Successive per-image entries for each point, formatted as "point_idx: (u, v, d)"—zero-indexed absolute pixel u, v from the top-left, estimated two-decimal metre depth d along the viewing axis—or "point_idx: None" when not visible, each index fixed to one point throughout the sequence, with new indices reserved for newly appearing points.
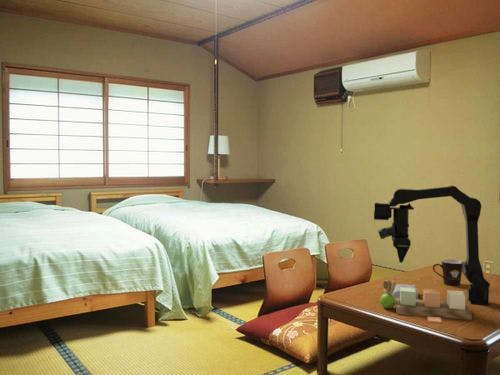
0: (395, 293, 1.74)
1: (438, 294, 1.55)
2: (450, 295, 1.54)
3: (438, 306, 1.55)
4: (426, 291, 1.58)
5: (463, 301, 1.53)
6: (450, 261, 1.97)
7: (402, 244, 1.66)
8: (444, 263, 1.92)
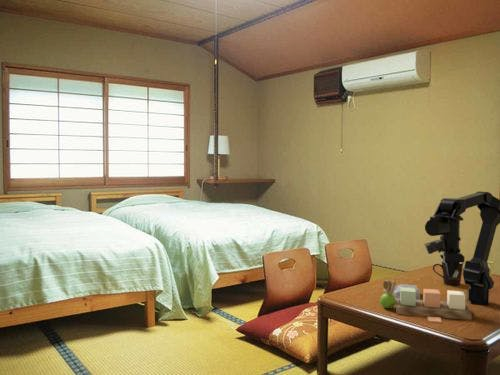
0: (397, 293, 1.74)
1: (438, 294, 1.55)
2: (450, 295, 1.54)
3: (438, 306, 1.55)
4: (426, 291, 1.58)
5: (463, 301, 1.53)
6: None
7: (455, 260, 1.51)
8: (444, 263, 1.92)
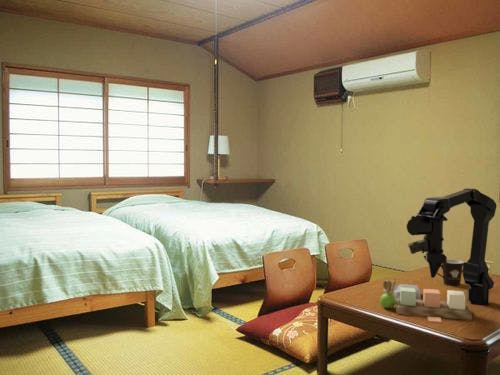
0: (398, 293, 1.74)
1: (438, 294, 1.55)
2: (450, 295, 1.54)
3: (438, 306, 1.55)
4: (426, 291, 1.58)
5: (463, 301, 1.53)
6: (450, 261, 1.97)
7: (437, 260, 1.48)
8: (444, 263, 1.92)
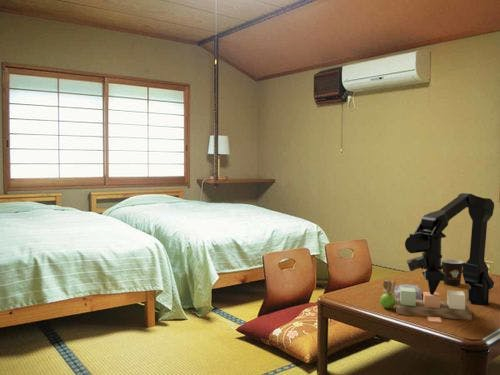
0: (399, 293, 1.74)
1: (438, 297, 1.55)
2: (450, 295, 1.54)
3: None
4: (426, 294, 1.58)
5: (463, 301, 1.53)
6: (450, 261, 1.97)
7: (436, 279, 1.49)
8: (444, 263, 1.92)
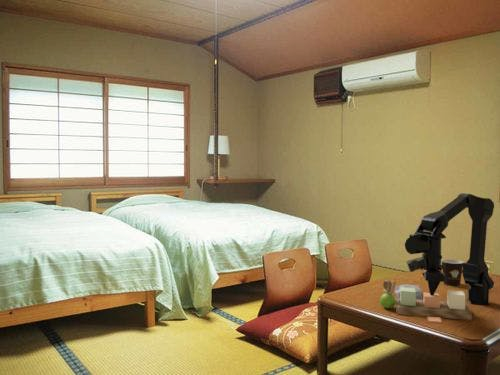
0: (399, 293, 1.73)
1: (438, 298, 1.55)
2: (450, 295, 1.54)
3: None
4: (426, 295, 1.58)
5: (463, 301, 1.53)
6: (450, 261, 1.97)
7: (436, 279, 1.49)
8: (444, 263, 1.92)
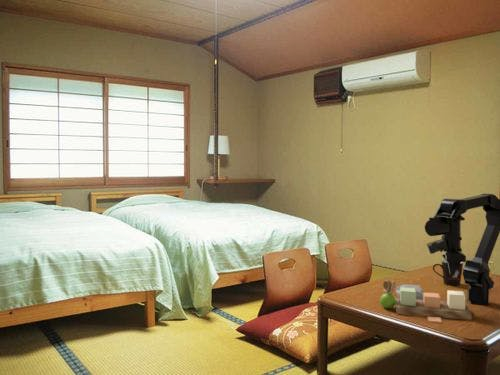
0: None
1: (438, 298, 1.55)
2: (450, 295, 1.54)
3: None
4: (426, 295, 1.58)
5: (463, 301, 1.53)
6: None
7: (457, 260, 1.53)
8: (444, 263, 1.92)
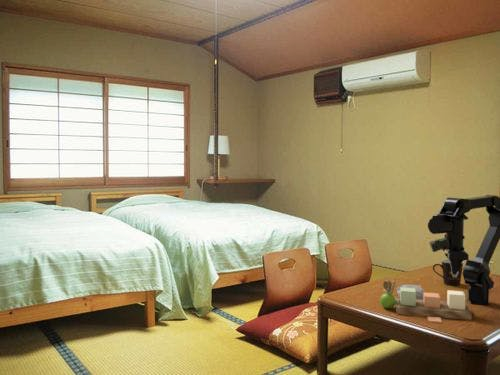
0: None
1: (438, 298, 1.55)
2: (450, 295, 1.54)
3: None
4: (426, 295, 1.58)
5: (463, 301, 1.53)
6: None
7: (459, 258, 1.54)
8: (444, 263, 1.92)
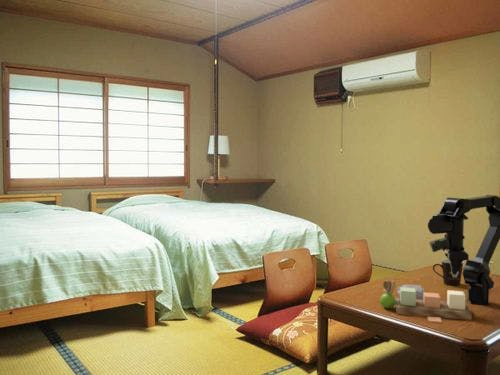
0: None
1: (438, 298, 1.55)
2: (450, 295, 1.54)
3: None
4: (426, 295, 1.58)
5: (463, 301, 1.53)
6: None
7: (459, 258, 1.54)
8: (444, 263, 1.92)
